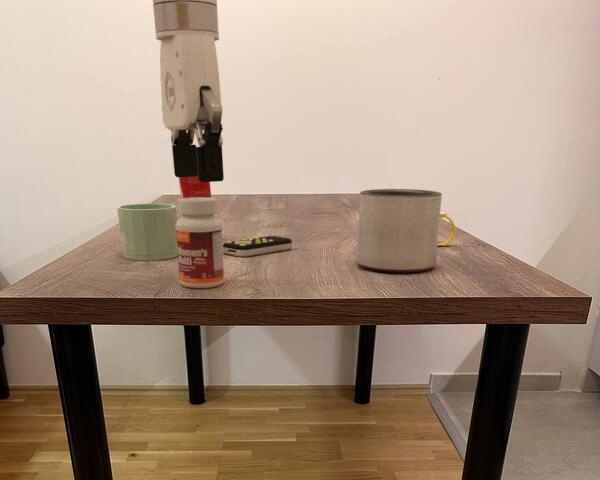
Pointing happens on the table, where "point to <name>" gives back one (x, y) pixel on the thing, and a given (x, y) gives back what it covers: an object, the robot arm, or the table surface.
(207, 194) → the beverage can
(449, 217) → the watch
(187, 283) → the pill bottle
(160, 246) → the holder
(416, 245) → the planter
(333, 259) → the table surface
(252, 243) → the remote control
